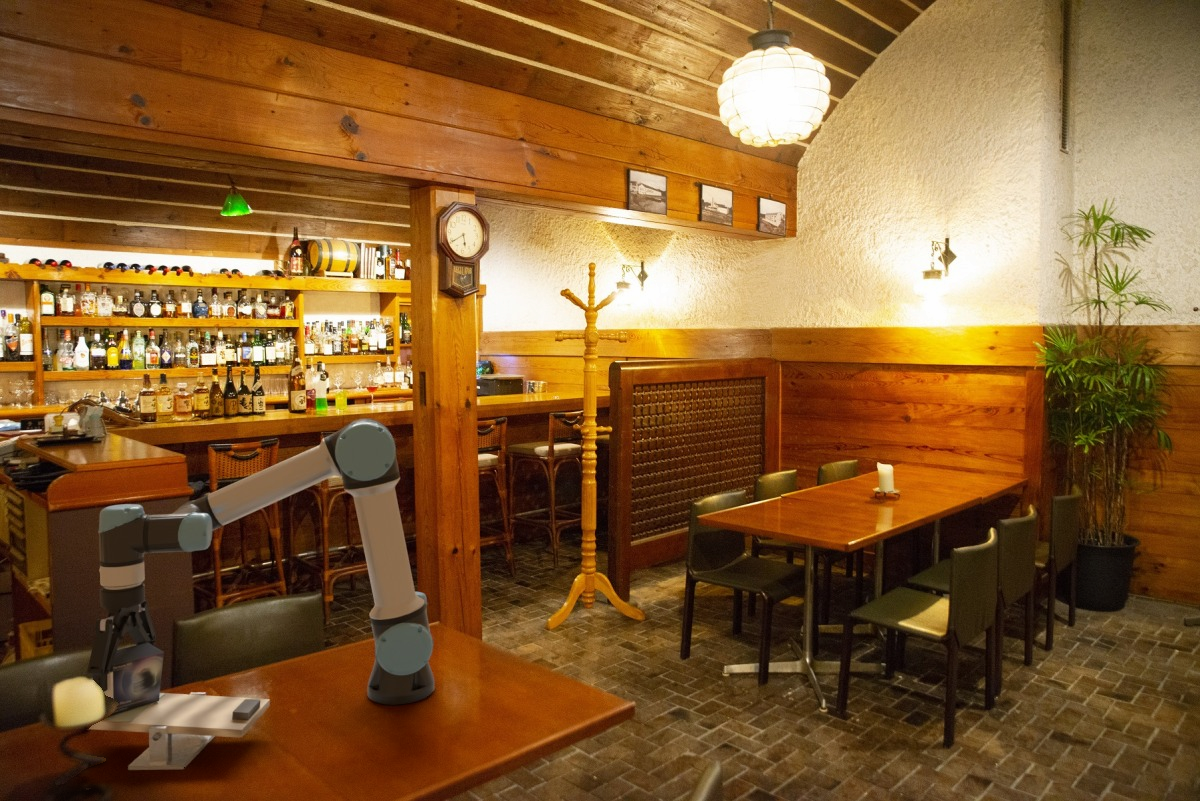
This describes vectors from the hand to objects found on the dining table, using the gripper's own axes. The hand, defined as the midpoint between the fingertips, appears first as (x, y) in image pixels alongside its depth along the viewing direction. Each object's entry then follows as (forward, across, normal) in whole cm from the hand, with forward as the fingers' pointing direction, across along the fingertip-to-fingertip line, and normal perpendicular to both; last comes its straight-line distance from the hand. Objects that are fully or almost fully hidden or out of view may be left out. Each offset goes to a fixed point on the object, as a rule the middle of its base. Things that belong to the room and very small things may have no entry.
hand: (124, 692), depth 156 cm
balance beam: (+5, 0, +10) cm, 12 cm away
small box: (+3, 0, 0) cm, 3 cm away
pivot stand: (+11, 0, +10) cm, 15 cm away
